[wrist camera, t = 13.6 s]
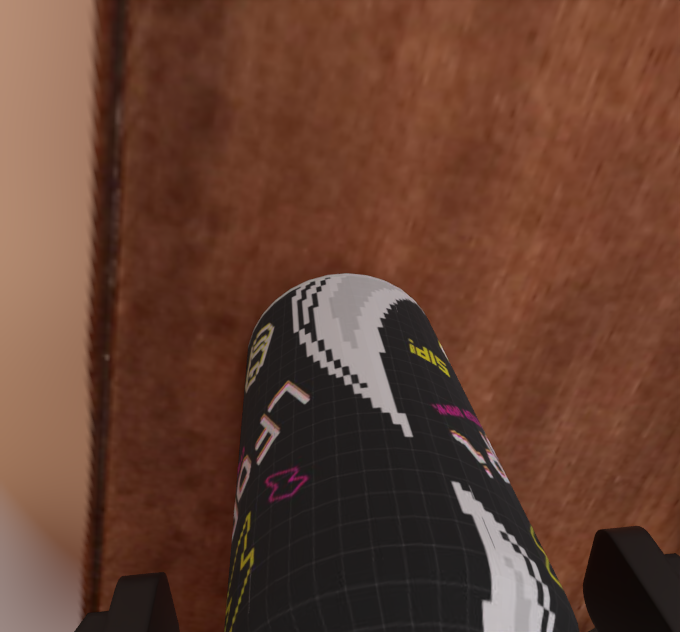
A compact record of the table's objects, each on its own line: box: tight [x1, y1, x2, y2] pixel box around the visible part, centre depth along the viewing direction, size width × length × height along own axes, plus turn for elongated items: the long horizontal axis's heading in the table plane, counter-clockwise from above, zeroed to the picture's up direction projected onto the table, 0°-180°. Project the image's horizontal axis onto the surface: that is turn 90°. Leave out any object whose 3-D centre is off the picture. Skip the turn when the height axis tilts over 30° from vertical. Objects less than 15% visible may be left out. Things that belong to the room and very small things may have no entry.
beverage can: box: [224, 273, 579, 632], centre depth 13 cm, size 6×6×12 cm
